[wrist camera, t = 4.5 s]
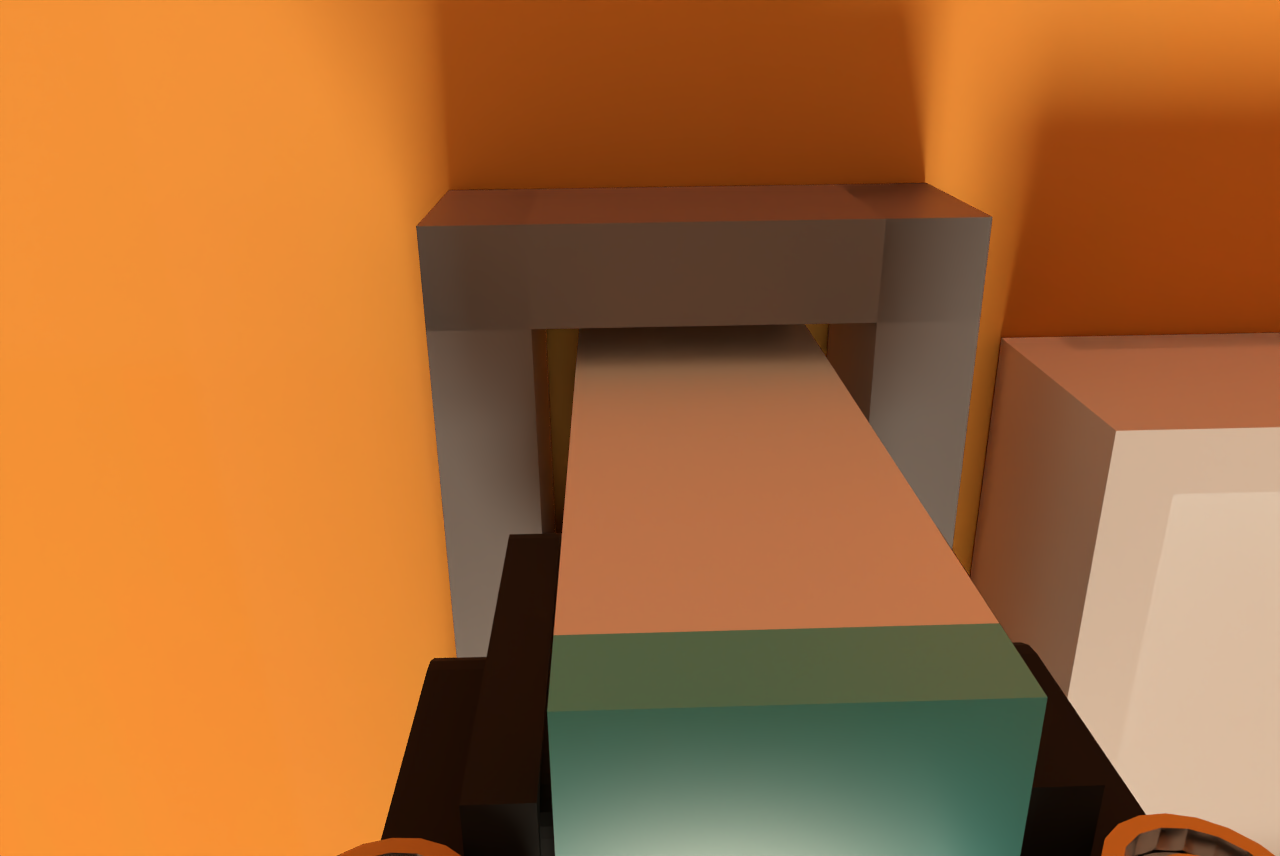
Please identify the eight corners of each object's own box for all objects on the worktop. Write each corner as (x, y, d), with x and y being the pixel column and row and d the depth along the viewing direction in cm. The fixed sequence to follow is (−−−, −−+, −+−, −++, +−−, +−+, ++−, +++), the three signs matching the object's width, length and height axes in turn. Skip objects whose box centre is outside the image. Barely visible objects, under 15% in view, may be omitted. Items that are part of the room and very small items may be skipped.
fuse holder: (449, 190, 13) (416, 226, 11) (926, 182, 14) (993, 216, 11) (520, 1081, 20) (509, 1220, 18) (842, 1068, 20) (872, 1205, 18)
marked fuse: (580, 311, 14) (547, 713, 6) (793, 307, 14) (1046, 697, 6) (590, 616, 16) (575, 1237, 8) (779, 611, 16) (957, 1220, 8)
